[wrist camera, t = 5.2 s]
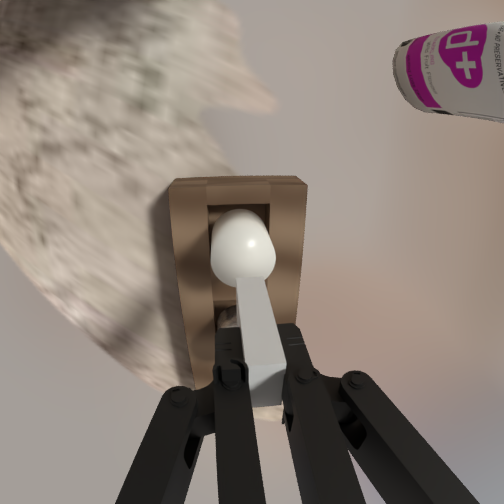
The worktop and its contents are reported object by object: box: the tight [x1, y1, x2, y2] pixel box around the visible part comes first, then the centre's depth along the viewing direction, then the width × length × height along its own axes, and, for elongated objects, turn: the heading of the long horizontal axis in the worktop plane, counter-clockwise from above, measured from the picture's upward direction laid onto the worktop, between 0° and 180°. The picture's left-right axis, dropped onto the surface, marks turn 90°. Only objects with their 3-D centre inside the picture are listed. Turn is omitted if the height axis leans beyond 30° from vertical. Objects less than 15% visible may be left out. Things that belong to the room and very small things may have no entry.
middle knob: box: [218, 305, 238, 329], centre depth 26 cm, size 4×4×4 cm
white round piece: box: [211, 209, 276, 287], centre depth 22 cm, size 4×4×4 cm
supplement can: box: [393, 22, 504, 123], centre depth 16 cm, size 8×8×15 cm
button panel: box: [168, 176, 308, 390], centre depth 30 cm, size 26×11×4 cm, turn 0°
